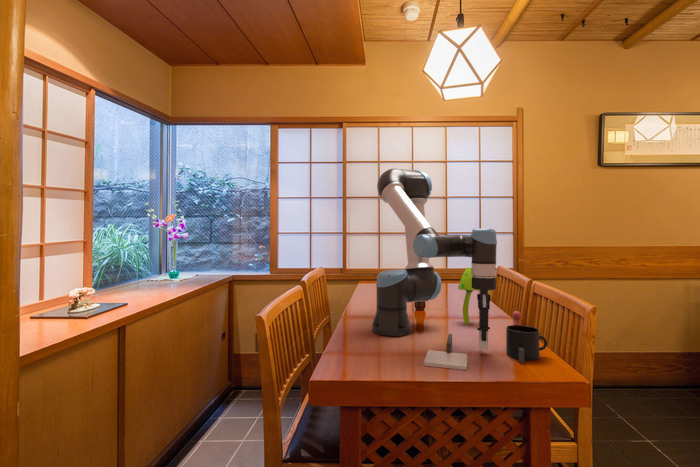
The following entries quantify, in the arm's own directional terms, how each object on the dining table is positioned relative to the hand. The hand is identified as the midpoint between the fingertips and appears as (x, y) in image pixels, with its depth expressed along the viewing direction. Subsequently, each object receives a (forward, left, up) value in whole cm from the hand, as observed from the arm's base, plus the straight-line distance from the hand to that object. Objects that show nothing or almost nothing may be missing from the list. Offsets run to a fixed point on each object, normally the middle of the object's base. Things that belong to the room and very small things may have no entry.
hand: (483, 350), depth 120 cm
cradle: (0, 0, -1) cm, 1 cm away
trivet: (-11, -11, -1) cm, 16 cm away
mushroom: (-5, +35, -1) cm, 35 cm away
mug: (+13, +2, -2) cm, 13 cm away
